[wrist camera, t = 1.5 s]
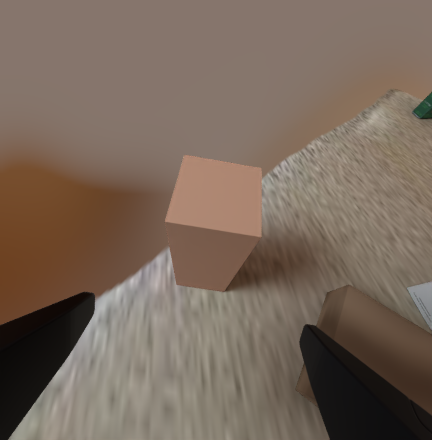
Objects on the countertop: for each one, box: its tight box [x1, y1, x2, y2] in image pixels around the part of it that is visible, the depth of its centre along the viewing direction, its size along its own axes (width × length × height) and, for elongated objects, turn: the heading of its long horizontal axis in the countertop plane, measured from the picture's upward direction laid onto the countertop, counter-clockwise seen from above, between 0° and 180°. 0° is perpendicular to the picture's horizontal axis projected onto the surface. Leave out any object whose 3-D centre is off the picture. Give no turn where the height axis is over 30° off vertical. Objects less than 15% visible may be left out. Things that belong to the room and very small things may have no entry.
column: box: [165, 155, 262, 292], centre depth 17 cm, size 5×5×13 cm
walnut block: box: [296, 285, 432, 415], centre depth 18 cm, size 10×10×4 cm
